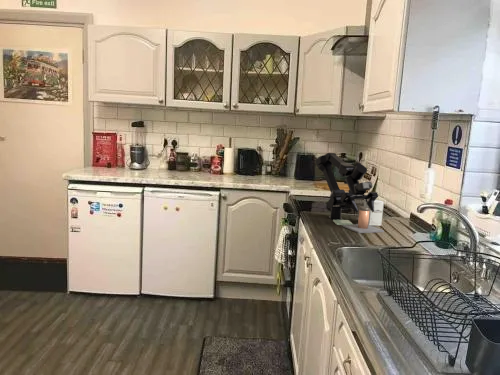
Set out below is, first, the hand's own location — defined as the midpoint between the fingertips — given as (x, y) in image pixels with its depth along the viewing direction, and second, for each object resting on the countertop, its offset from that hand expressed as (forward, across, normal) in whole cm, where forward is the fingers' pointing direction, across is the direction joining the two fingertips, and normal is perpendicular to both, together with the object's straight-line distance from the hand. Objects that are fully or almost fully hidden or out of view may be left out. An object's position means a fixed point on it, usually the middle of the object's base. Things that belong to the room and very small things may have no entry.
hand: (365, 211), depth 212 cm
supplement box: (-1, +11, +13) cm, 18 cm away
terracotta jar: (+5, 0, +7) cm, 8 cm away
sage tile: (-4, -3, +17) cm, 17 cm away
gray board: (+6, 0, +7) cm, 9 cm away
